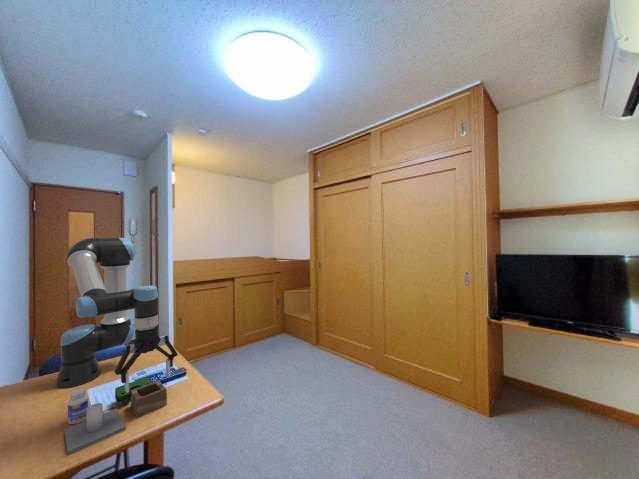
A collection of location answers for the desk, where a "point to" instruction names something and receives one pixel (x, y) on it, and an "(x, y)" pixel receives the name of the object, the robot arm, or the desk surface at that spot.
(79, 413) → the pill bottle
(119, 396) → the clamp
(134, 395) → the wooden box
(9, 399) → the desk surface
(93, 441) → the gray base with post
